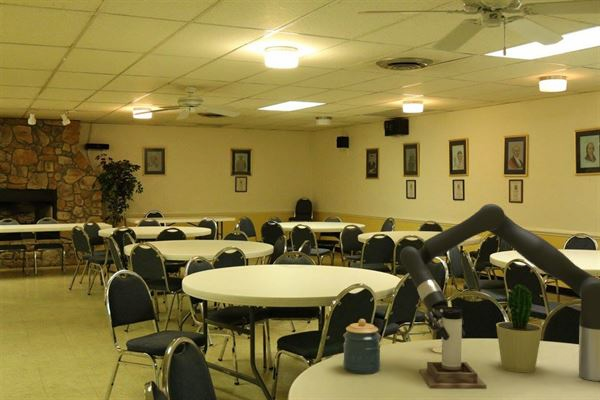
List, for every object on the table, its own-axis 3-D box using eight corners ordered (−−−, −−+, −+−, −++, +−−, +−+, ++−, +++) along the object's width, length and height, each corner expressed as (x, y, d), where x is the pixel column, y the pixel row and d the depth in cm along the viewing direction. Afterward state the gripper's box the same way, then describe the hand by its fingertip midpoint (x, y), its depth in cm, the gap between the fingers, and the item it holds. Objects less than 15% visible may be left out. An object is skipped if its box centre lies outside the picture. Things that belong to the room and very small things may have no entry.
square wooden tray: (470, 371, 219) (471, 360, 219) (486, 388, 201) (486, 376, 201) (419, 371, 219) (419, 359, 219) (430, 388, 201) (430, 375, 201)
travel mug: (463, 366, 212) (465, 307, 211) (457, 371, 206) (458, 310, 205) (445, 363, 215) (446, 304, 214) (438, 368, 209) (439, 308, 209)
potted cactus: (508, 359, 236) (509, 278, 235) (548, 367, 225) (550, 283, 224) (487, 367, 225) (488, 283, 224) (528, 376, 214) (530, 288, 213)
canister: (335, 369, 221) (336, 318, 221) (358, 361, 231) (358, 313, 230) (365, 377, 213) (365, 324, 212) (387, 369, 222) (388, 318, 222)
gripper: (420, 291, 213) (444, 333, 203) (453, 288, 220) (477, 329, 210) (410, 304, 218) (432, 346, 208) (443, 300, 224) (466, 341, 214)
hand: (455, 337), depth 209 cm, fingers closed on travel mug, 6 cm apart
